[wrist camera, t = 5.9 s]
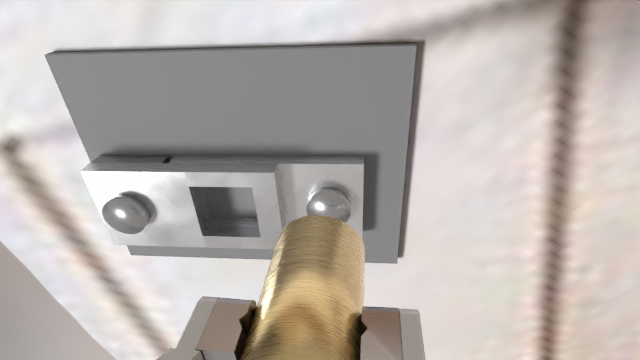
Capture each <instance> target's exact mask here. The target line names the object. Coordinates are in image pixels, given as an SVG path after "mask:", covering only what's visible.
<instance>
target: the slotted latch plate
mask: <svg viewBox="0 0 640 360" xmlns="http://www.w3.org/2000/svg"><path fill="white" fill-rule="evenodd" d="M81 174H82V176H83V178H84V180H85V182H86V185H87V187H88V189H89V191H90V193H91V195H92V198H93V200H94V202H95V204H96V206H97V209H98V211H99V213H100V215H101V217H102V220H103V222H104V224H105V226H106V228H107V230H108V233H109V235H110V237H111V239H112V241H113V244H114V245H135V246H170V247H205V248H239V249H274V250H275V247H276V244H277V241H278V237H279V235H280V233H281V231H282V230H283V228H284V227H285V226H286V225H287V224H289V223H290V222H292V221H293V220H295V219H298V218H300V217H304V216H310V215H323V216H329V217H333V218H336V219H339V220H341V221H343V222H345V223H347V224H348V225H350V226H351V227H352V228H353V229H354V230H355V231H356V232H357V233H358V234H359V235H360V237H361V239H362V233H363V182H364V156H290V155H175V156H174V157H173V158H172V159H171V161H170V158H169V155H99V156H98V157H97V158H96V159H94V160H93V161H92V162H91V163H90V164H88V165H87V166H86V167H85V168H84V169H83V170H81ZM205 187H252V189H253V195H254V201H255V207H256V213H257V218H256V217H213V216H212V212H211V208H210V204H209V200H208V196H207V192H206V188H205Z"/></svg>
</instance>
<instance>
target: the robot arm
mask: <svg viewBox="0 0 640 360" xmlns="http://www.w3.org/2000/svg"><path fill="white" fill-rule="evenodd" d="M256 308H257V306H256V302H255V301H253V300H241V299H230V298H218V297H204V296H203V297H202V298H201V299H200V300H199V301H198V303H197V305H196V307H195V309H194V311H193V313H192V315H191V317H190V319H189V322H188V324H187V326H186V328H185V330H184V332H183V334H182V336H181V338H180V340H179V342H178V345H177V347H176V349H174V348H170V349H169V350H168V351H167V352H165V353H164V354H163V355H162V356H160V357H159V358H158V359H157V360H241V356H242V353H243V350H244V347H245V344H246V340H247V337H248V334H249V331H250V327H251V324H252V321H253V318H254V315H255V311H256ZM360 360H425V353H424V345H423V337H422V329H421V321H420V313H419V311H418V310H416V309H398V308H386V307H364V306H362V319H361V357H360Z"/></svg>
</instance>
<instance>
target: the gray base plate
mask: <svg viewBox="0 0 640 360" xmlns="http://www.w3.org/2000/svg"><path fill="white" fill-rule="evenodd" d="M416 47H417V45H416V43H406V44H367V45H328V46H289V47H250V48H211V49H172V50H133V51H94V52H54V53H48V54H46V55H45V57H46V60H47V62H48V64H49V67H50V69H51V71H52V74H53V76H54V78H55V80H56V83H57V85H58V87H59V90H60V92H61V94H62V97H63V99H64V101H65V104H66V106H67V108H68V110H69V113H70V115H71V117H72V120H73V122H74V124H75V127H76V129H77V131H78V134H79V136H80V138H81V140H82V143H83V145H84V147H85V150H86V152H87V154H88V157H89V159H90V161H91V162H92V161H93V160H94V159H96V158H97V157H98V156H99V155H169V158H170V161H171V159H172V158H173V157H174V156H175V155H290V156H364V182H363V233H362V241H363V243H364V247H365V263H397V258H398V247H399V236H400V225H401V214H402V203H403V192H404V181H405V169H406V158H407V147H408V136H409V125H410V114H411V103H412V92H413V81H414V69H415V58H416ZM205 188H206V192H207V196H208V200H209V204H210V208H211V212H212V216H213V217H256V218H257V213H256V207H255V201H254V195H253V189H252V187H205ZM127 247H128V249H129V251H130V254H131V255H144V256H175V257H207V258H239V259H270V260H272V257H273V253H274V249H239V248H205V247H170V246H135V245H127Z"/></svg>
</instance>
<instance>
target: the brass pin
mask: <svg viewBox="0 0 640 360" xmlns="http://www.w3.org/2000/svg"><path fill="white" fill-rule="evenodd" d="M364 264H365V247H364V243H363V241H362V239H361V237H360V235H359V234H358V233H357V232H356V231H355V230H354V229H353V228H352V227H351V226H350V225H348V224H347V223H345V222H343V221H341V220H339V219H336V218H333V217H329V216H323V215H310V216H304V217H300V218H298V219H295V220H293V221H292V222H290V223H289V224H287V225H286V226H285V227H284V228H283V230H282V231H281V233H280V235H279V237H278V241H277V244H276V247H275V250H274V253H273V257H272V260H271V263H270V266H269V270H268V273H267V276H266V279H265V282H264V286H263V289H262V292H261V295H260V299H259V302H258V305H257V308H256V311H255V315H254V318H253V321H252V324H251V327H250V331H249V334H248V337H247V340H246V344H245V347H244V350H243V353H242V356H241V360H360V357H361V319H362V306H363V302H364Z"/></svg>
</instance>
